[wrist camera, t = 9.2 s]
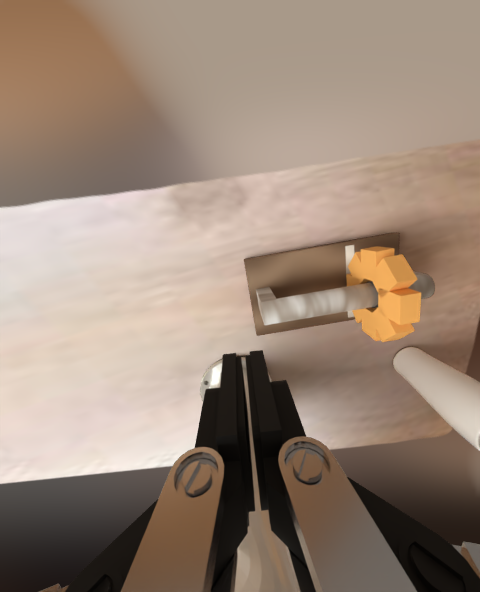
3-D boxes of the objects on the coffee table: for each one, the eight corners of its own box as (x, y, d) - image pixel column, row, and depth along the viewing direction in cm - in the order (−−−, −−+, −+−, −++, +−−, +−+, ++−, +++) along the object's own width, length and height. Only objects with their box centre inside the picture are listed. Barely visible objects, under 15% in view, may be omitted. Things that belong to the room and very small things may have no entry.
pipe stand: (390, 308, 36) (440, 334, 27) (255, 331, 37) (262, 363, 28) (392, 232, 33) (449, 234, 24) (243, 259, 33) (247, 269, 25)
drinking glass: (382, 374, 40) (466, 456, 25) (393, 340, 38) (490, 408, 24) (418, 377, 40) (521, 459, 26) (431, 343, 38) (550, 411, 24)
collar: (360, 316, 34) (417, 355, 24) (347, 318, 34) (398, 358, 24) (359, 244, 31) (423, 251, 21) (345, 246, 31) (402, 255, 21)
